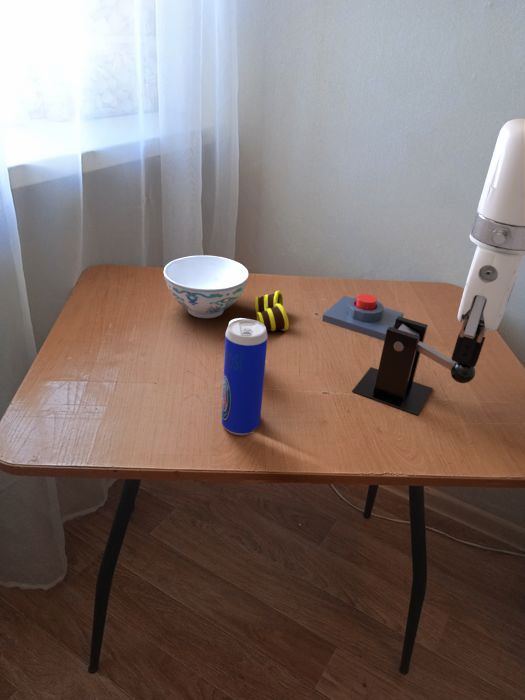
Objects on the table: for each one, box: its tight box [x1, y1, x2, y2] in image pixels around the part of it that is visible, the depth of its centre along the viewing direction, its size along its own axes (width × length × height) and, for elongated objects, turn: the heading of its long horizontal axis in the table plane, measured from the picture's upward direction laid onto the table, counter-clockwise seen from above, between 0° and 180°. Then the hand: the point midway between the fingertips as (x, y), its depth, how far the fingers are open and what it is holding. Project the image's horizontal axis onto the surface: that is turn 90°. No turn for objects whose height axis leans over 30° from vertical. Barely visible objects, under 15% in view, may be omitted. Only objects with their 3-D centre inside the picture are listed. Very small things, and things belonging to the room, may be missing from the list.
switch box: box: [322, 295, 405, 341], centre depth 102 cm, size 12×10×4 cm
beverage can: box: [221, 318, 269, 436], centre depth 72 cm, size 5×5×15 cm
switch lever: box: [398, 324, 476, 384], centre depth 78 cm, size 12×3×3 cm, turn 60°
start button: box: [356, 293, 378, 310], centre depth 101 cm, size 4×4×2 cm
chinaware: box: [163, 255, 249, 319], centre depth 102 cm, size 15×15×8 cm
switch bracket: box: [351, 316, 434, 417], centre depth 81 cm, size 10×8×12 cm
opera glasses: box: [254, 290, 290, 332], centre depth 100 cm, size 10×5×5 cm, turn 5°
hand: (464, 361), depth 76 cm, fingers closed
